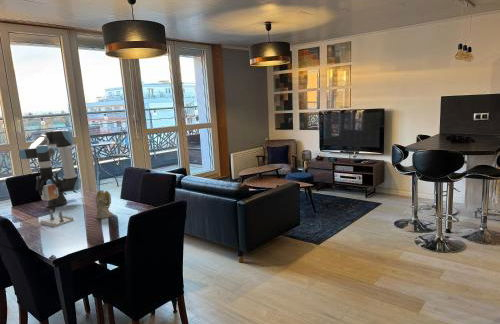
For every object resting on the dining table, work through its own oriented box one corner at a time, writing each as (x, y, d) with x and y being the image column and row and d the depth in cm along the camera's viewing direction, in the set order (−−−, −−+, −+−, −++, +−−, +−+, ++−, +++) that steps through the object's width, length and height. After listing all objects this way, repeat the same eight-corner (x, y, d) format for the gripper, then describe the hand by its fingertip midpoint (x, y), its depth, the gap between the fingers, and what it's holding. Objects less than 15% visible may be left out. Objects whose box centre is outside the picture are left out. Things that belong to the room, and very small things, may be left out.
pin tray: (59, 217, 258) (58, 207, 257) (73, 220, 249) (71, 209, 247) (40, 223, 247) (38, 212, 245) (54, 226, 237) (52, 215, 236)
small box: (49, 200, 241) (47, 186, 239) (42, 200, 242) (40, 186, 241) (58, 197, 249) (55, 183, 247) (51, 197, 250) (49, 183, 248)
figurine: (96, 220, 246) (92, 193, 242) (95, 216, 256) (91, 190, 253) (113, 217, 251) (110, 190, 248) (112, 213, 261) (108, 187, 258)
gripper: (58, 164, 253) (62, 193, 256) (26, 169, 235) (31, 201, 238) (63, 164, 249) (68, 194, 252) (31, 170, 231) (36, 202, 234)
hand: (50, 197), depth 245 cm, fingers closed on small box, 9 cm apart
